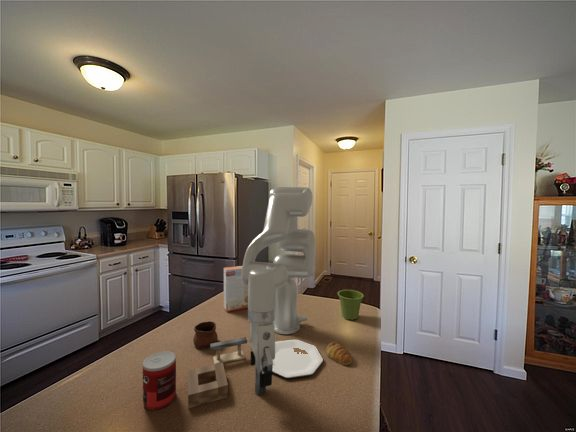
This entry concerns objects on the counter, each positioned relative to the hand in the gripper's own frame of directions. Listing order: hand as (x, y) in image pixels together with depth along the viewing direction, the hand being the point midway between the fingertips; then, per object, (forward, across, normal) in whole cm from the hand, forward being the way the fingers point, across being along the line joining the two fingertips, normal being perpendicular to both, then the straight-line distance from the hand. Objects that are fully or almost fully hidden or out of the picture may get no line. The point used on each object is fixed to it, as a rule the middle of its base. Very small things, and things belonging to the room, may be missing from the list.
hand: (260, 374), depth 69 cm
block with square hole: (+5, +6, +14) cm, 16 cm away
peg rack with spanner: (+5, +18, +6) cm, 20 cm away
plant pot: (+4, +30, -52) cm, 60 cm away
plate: (+6, +10, -14) cm, 19 cm away
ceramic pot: (+6, +31, +12) cm, 34 cm away
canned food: (+6, +8, +26) cm, 27 cm away
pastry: (+5, +6, -30) cm, 31 cm away
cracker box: (+4, +58, -5) cm, 59 cm away
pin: (+5, 0, 0) cm, 5 cm away
